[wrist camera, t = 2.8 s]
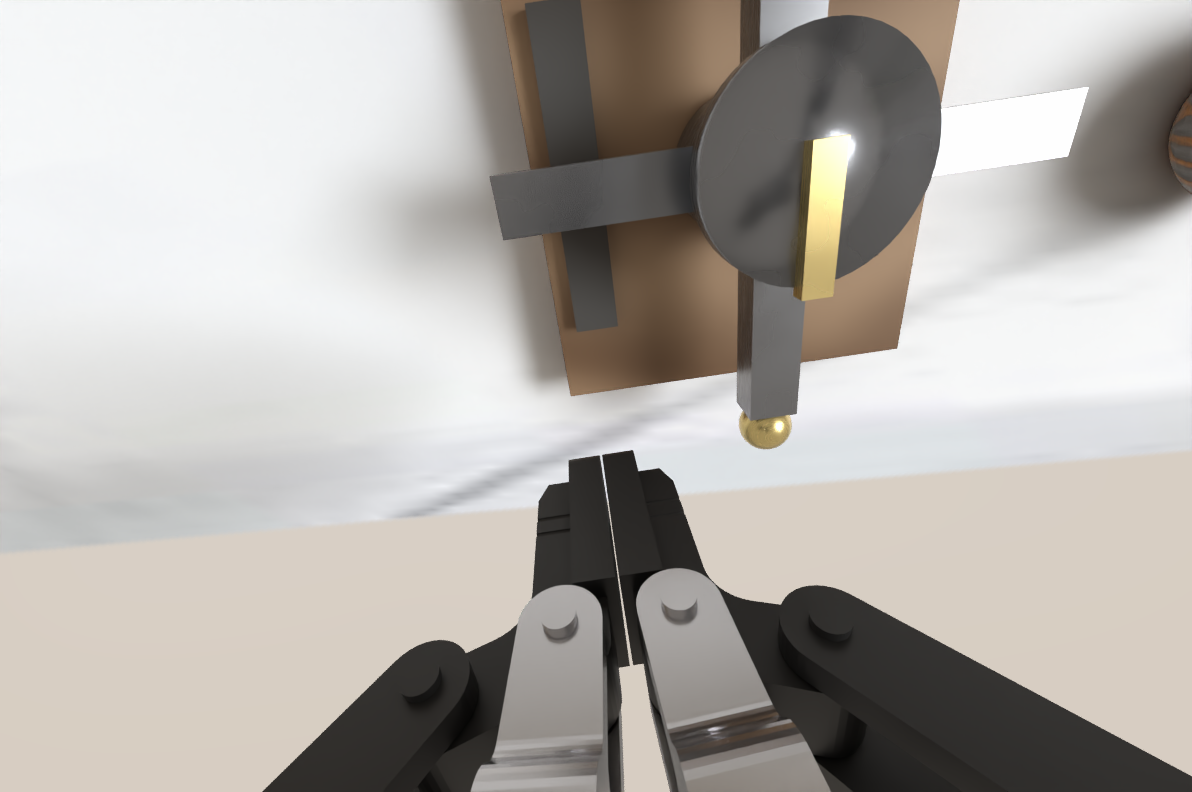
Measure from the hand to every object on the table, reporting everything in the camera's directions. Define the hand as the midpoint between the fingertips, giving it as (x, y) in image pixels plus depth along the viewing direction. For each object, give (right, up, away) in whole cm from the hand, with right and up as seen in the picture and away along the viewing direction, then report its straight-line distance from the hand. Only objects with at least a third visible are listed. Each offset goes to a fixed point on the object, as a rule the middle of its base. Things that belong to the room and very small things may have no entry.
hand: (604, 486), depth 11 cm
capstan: (+5, +10, +5) cm, 12 cm away
